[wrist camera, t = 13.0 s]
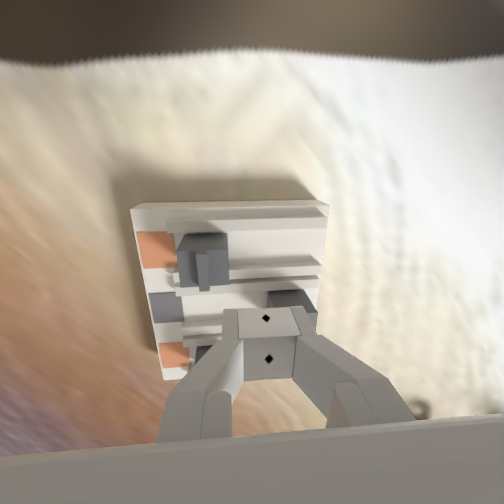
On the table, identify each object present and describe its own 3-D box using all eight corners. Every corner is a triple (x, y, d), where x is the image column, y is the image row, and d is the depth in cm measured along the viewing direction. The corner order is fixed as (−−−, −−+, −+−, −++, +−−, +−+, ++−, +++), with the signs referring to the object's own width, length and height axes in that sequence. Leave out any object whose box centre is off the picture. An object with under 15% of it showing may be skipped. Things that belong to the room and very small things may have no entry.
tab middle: (302, 288, 19) (321, 318, 16) (300, 311, 20) (317, 345, 17) (267, 290, 19) (277, 321, 15) (266, 314, 20) (276, 349, 16)
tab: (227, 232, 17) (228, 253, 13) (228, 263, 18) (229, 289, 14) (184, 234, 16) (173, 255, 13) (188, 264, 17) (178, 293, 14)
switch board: (317, 199, 19) (334, 207, 16) (301, 347, 25) (312, 373, 22) (141, 202, 18) (124, 211, 15) (169, 359, 24) (161, 388, 21)
